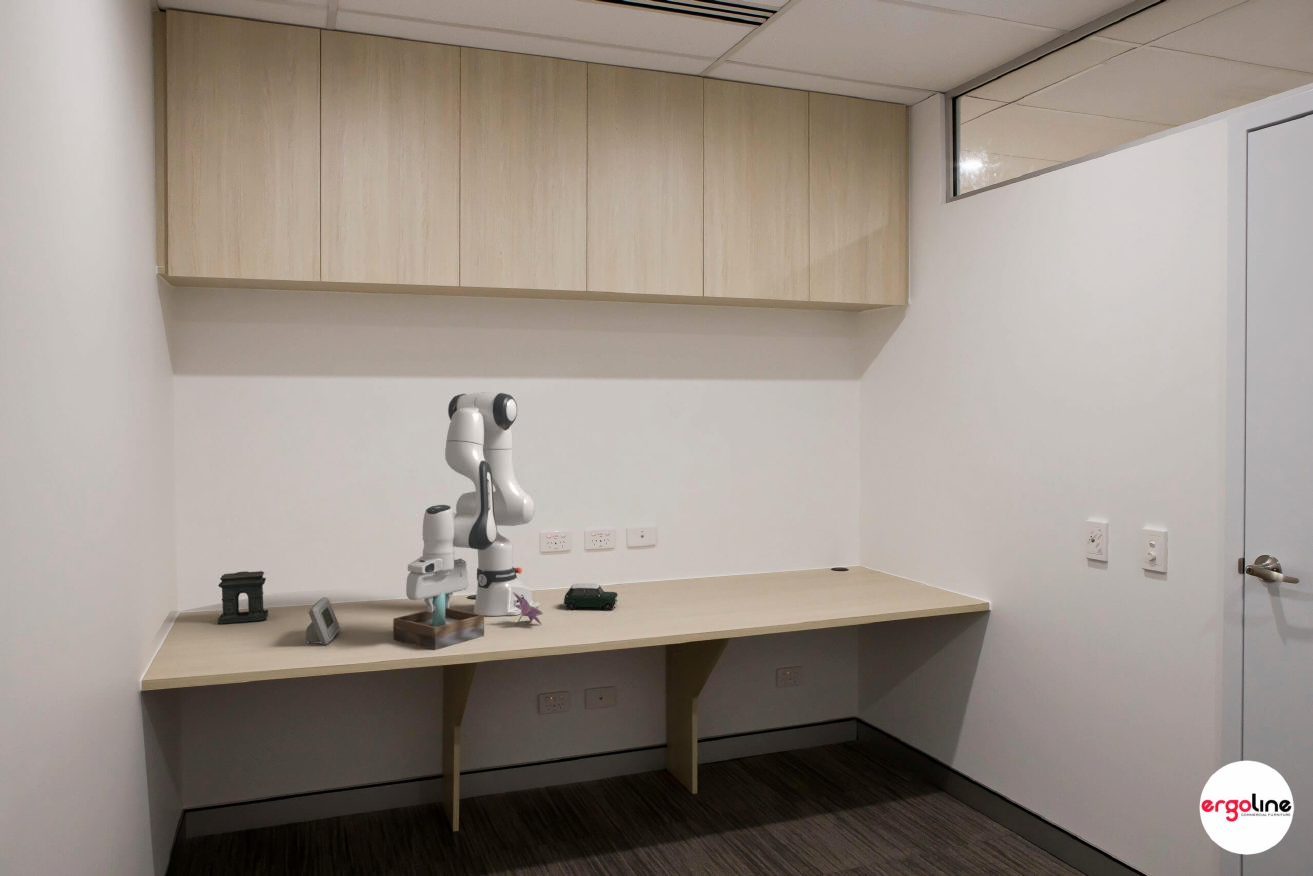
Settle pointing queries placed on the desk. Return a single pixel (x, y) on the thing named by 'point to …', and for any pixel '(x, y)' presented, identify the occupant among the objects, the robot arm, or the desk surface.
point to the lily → (527, 609)
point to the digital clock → (322, 623)
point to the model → (233, 588)
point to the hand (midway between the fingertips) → (438, 610)
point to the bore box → (438, 628)
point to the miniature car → (589, 597)
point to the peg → (439, 610)
